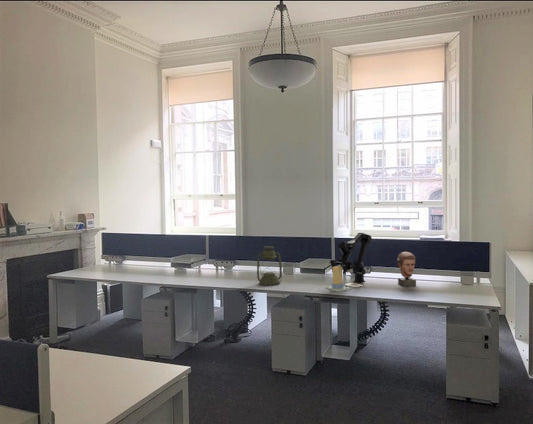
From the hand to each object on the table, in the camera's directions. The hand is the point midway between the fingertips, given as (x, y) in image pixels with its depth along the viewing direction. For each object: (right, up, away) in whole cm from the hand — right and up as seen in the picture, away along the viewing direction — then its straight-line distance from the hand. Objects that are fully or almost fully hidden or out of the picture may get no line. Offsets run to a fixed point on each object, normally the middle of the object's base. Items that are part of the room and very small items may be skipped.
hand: (337, 273), depth 349 cm
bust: (+54, -10, +8) cm, 56 cm away
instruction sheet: (+14, -11, +12) cm, 21 cm away
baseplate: (0, -12, 0) cm, 12 cm away
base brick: (0, -12, 0) cm, 12 cm away
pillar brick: (0, -8, 0) cm, 8 cm away
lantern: (-51, -12, +24) cm, 57 cm away
